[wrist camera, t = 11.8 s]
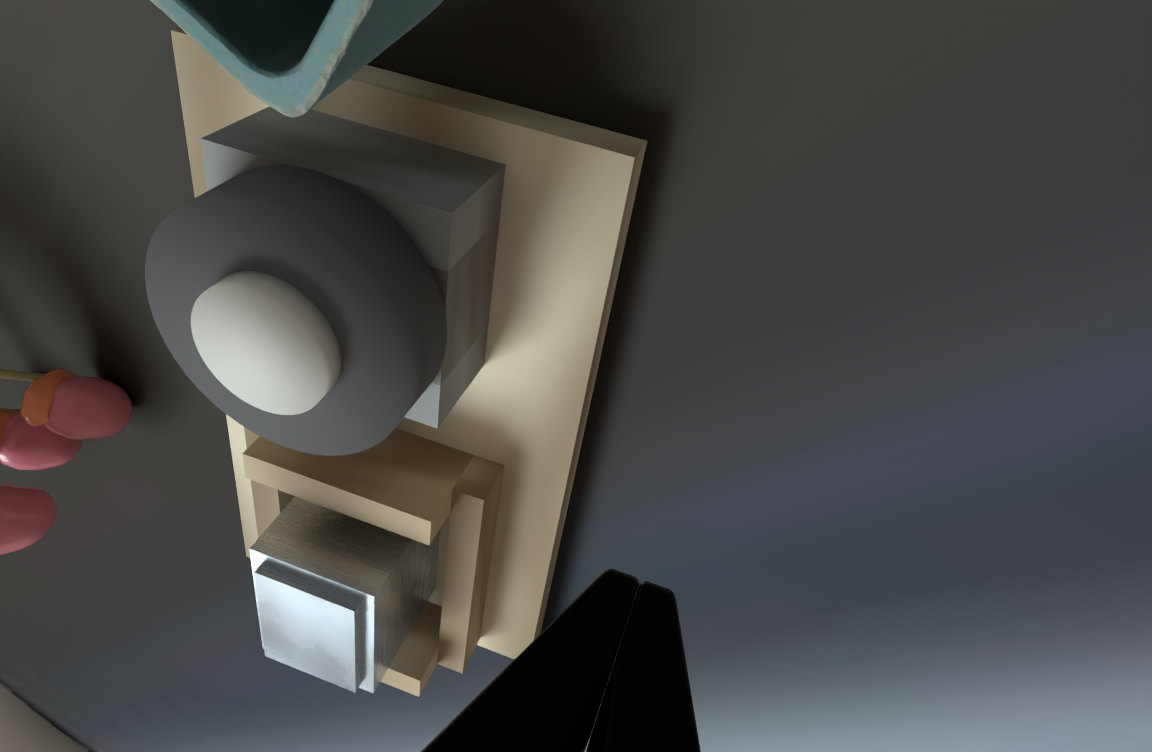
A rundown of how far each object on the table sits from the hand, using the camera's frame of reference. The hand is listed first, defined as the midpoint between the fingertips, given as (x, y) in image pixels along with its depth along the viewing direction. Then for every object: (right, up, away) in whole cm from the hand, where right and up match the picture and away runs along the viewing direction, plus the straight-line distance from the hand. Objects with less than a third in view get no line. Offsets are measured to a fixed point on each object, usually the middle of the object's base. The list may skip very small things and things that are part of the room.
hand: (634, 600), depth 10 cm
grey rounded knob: (-6, +6, +11) cm, 14 cm away
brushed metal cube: (-7, -2, +18) cm, 20 cm away
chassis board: (-6, +2, +16) cm, 17 cm away
